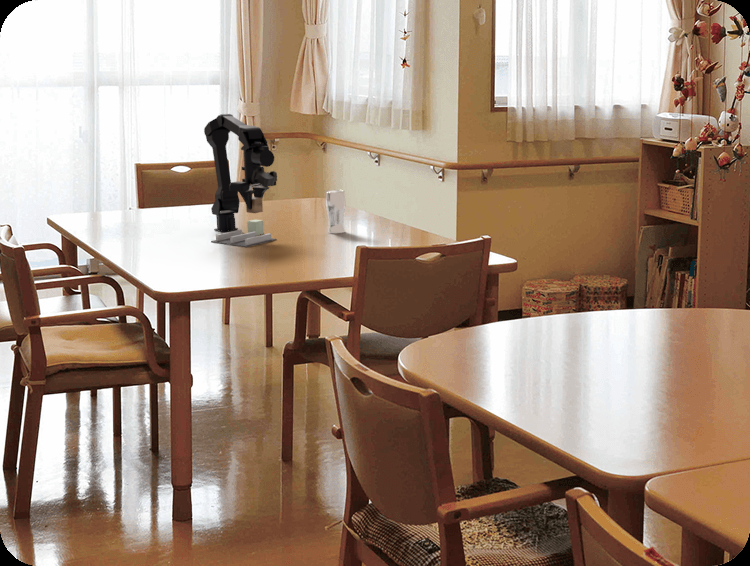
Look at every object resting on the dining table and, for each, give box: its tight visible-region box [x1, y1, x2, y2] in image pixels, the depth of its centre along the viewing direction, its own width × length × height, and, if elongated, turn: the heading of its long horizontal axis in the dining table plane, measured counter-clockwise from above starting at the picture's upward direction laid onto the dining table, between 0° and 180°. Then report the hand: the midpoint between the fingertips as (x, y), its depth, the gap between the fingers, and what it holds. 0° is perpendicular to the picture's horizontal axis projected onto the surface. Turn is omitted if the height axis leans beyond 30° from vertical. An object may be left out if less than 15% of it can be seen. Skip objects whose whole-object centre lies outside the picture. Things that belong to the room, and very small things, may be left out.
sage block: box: [246, 219, 265, 236], centre depth 344 cm, size 4×4×5 cm
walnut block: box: [245, 196, 264, 214], centre depth 334 cm, size 4×4×5 cm
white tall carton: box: [325, 189, 346, 235], centre depth 344 cm, size 7×7×15 cm
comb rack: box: [210, 229, 277, 248], centre depth 332 cm, size 17×15×2 cm
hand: (254, 208), depth 334 cm, fingers closed on walnut block, 4 cm apart
